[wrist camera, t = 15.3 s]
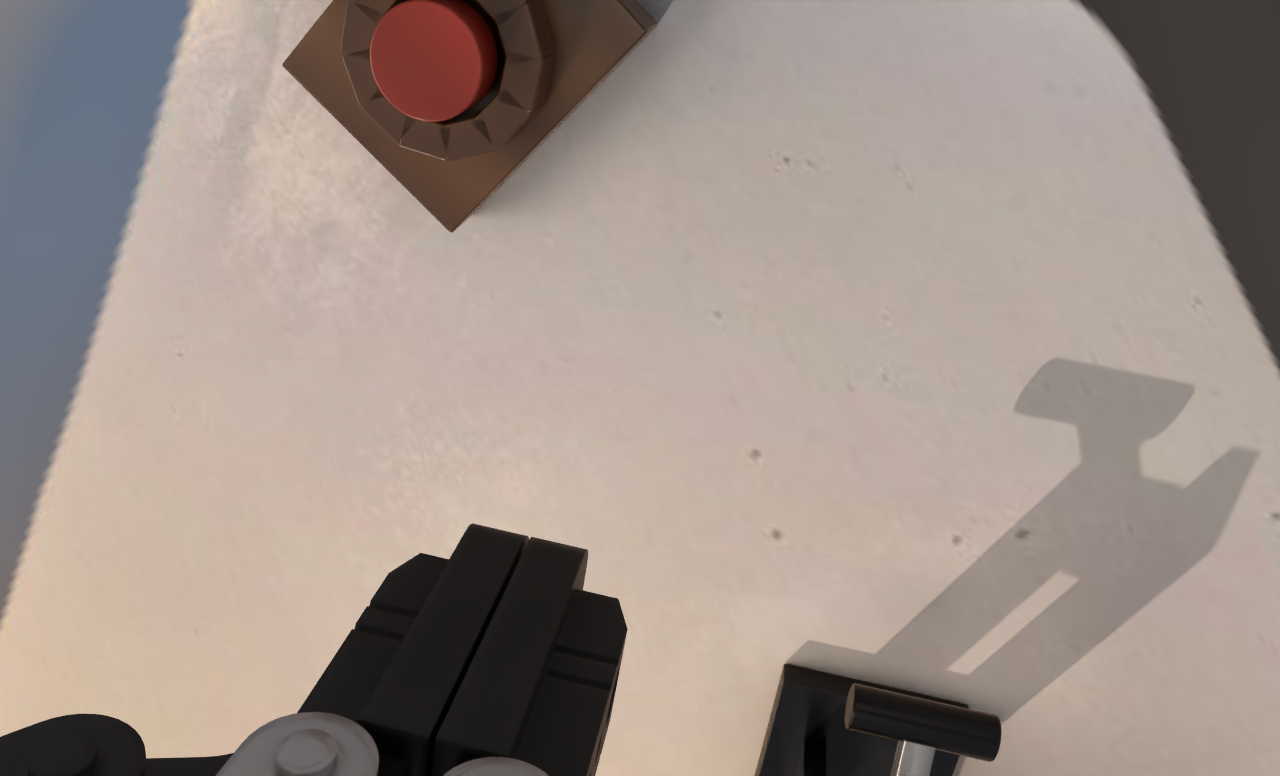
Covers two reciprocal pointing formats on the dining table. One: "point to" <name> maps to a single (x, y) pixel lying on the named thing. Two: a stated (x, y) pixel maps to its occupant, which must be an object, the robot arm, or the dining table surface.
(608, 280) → the dining table surface
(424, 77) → the button
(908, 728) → the lever
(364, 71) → the button block
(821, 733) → the bracket
